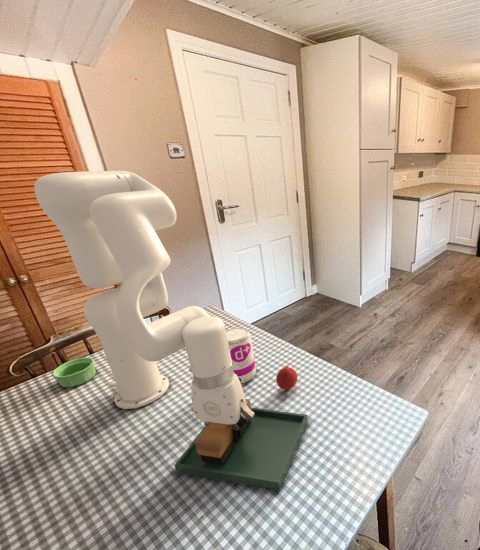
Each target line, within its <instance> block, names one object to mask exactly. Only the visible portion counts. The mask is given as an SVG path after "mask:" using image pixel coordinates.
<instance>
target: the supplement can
mask: <svg viewBox="0 0 480 550" xmlns="http://www.w3.org/2000/svg"><path fill="white" fill-rule="evenodd" d="M226 334H227V339H228V345H229V350H230V355H231V360H232V365H233V370H234V374H236V375H237V377H238V379H239V381H240V383H241V384H244V383H247V382H249V381H250V380H252V379H253V378H254V376H256V373H257V369H256V363H255V355H254V348H253V343H252V336H251V333H250V332H249V331H248V330H247V328H245V327H233V328H230V329H228V330H226Z"/></svg>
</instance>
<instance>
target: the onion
mask: <svg viewBox="0 0 480 550" xmlns="http://www.w3.org/2000/svg"><path fill="white" fill-rule="evenodd" d="M275 380H276V384H277V386H278V388H279V389H281V390H285V391H287V390H288V391H289V390H290V389H293V387H295V385H296V384H297V382H298V373H297V371H296V370H295V369H294V368H292V367H290V366H289V365H287V364H285V365H284V366H283V368H281V369H280V370H279V371H278V372H277V374H276V378H275Z"/></svg>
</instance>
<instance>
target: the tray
mask: <svg viewBox="0 0 480 550" xmlns="http://www.w3.org/2000/svg"><path fill="white" fill-rule="evenodd" d="M251 410H252V411H253V412H254V413H255V415H254V417H253V419H252V420H250V422H249V423H248V425H247V427H246V428H245V435H244V436H243V438H241V440H240V441H239V443H238V444H237V443H236V444H235V446H234V447H233V449H232V450H231V452H230V453H229V455H228V457H227V458H226V460H225V461H224V463H223V464H222V465H221V464H214V463H208V462H202V459H201V456H200V455H198V453H197V449H196V446H195V442H196V440H197V439H198V438H199V436H200V435H201V434H202V433H203V431H204V430H205V429H206V427H207V426H205V425H204V427H203V428H202V430H200V432H199V433H198V434H197V436H195V438H194V440H193V441H192V442H191V443H190V445H189V446H188V447H187V448H186V450H185V451H184V452H183V454H182V455H181V456H180V457H179V459H178V460H177V462H176V463H175V464H174V469H175V472H176V474H180V475H185V476H191V477H197V478H203V479H208V480H209V479H210V480H215V481H221V482H225V483H226V482H227V483H232V484H233V483H234V484H238V485H244V486H250V487H257V488H263V489H267V490H268V489H269V490H272V491H273V490H274V491H281V489H282V486H283V484H284V481H285V479H286V477H287V474H288V472H289V469H290V467H291V464H292V462H293V460H294V457H295V455H296V452H297V449H298V447H299V444H300V442H301V440H302V437H303V435H304V432H305V430H306V428H307V426H308V425H307V424H308V423H309V420H308V414H305V413H304V414H303V413H302V414H301V413H296V412H288V411H280V410H273V409H265V408H258V407H251Z"/></svg>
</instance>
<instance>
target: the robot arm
mask: <svg viewBox="0 0 480 550" xmlns="http://www.w3.org/2000/svg"><path fill="white" fill-rule="evenodd" d="M33 188H34V194H35V198H36V201H37V203H38V204H39V206H40V208H41V209H42V211H43V212H44V213H45V215H46V216H47V217H48V218H49V219H50V220H51V222H52V223H53V224H54V225H55V227H57V229H58V230H59V232H60V233H61V235H62V237H63V239H64V241H65V244H66V247H67V249H68V250H67V251H68V252H69V255H70V257H71V260H72V262H73V264H74V267H75V270H76V273H77V275H78V276H79V279H80V280H81V282H82V283H83V284H84V286H86V287H87V288H90V289H95V290H96V289H104V288H108V287H112V286H115V285H119V284H121V286H118V287H115V288H112V289H109V290H106V291H101V292H100V293H98V294H95V295H93V296H91V297H90V298H89V299H88V300H86V302H85V303H84V304H83V309H82V311H83V314H84V316H85V319H86V320H87V321H88V323H89V324H90V326H91V328H92V329H93V331H94V333H95V334H96V336H97V339H98V340H99V343H100V345H101V347H102V349H103V353H104V355H105V358H106V360H107V363H108V366H109V368H110V371H111V374H112V376H113V377H112V381H111V382H110V383H109V387H110V388H116V394H115V396H114V399H113V400H114V403H115V406H116V407H118V408H120V409H123V410H132V409H138V408H141V407H144V406H147V405H149V404H151V403H153V402H155V401H157V400H158V399H159V398H161V397H162V396H163V395H164V394H165V393H166V392H167V390H168V389H169V386H170V381H169V378H168V377H166V375H163V374H160V370H159V367H158V364H157V362H160V361H162V360H164V359H166V358H168V357H169V356H171V355H173V354H175V353H177V352H179V351H180V350H182V349H185V351H186V354H187V357H188V362H189V365H190V367H189V369H188V370H189V373H191V374H192V378H193V380H192V381H191V387H190V388H191V389H190V391H191V394H190V395H191V403H192V407H191V409H190V411H191V412H192V413H193V414H194V416H195V418H196V419H197V420H198V421H201V422H203V425H204V427H205V426H208V425H209V424H210V422H213V423H221V424H232V426H233V427H234V429H233V436H234V441H235V443H237V444H238V443H239V441H240V440H241V438H243V436H244V435H245V429H244V425H245V424H246V423H247V422H249V421H250V420H252V419H253V417H254V415H255V413H254V412H253V411H252V410H251V409H250V408H249V407H247V406H246V400H245V399H246V396H245V391H244V389H243V387H242V383H240V381H239V379H238V377H237V375H236V374H234V370H233V365H232V360H231V355H230V350H229V345H228V339H227V334H226V331H227V330H226V324H225V322H224V321H223V320H222V319H221V318H220V317H217V316H213V315H210V314H209V312H207V311H206V310H205V309H203V308H202V307H200V306H197V305H190V306H186V307H184V308H181V309H179V310H177V311H175V312H173V313H169V314H167V315H165V316H162V317H160V318H158V319H155V320H153V321H151V322H149V323H146V321H145V319H144V318H146V317H149V316H151V315H153V314H156V313H158V312H160V311H162V310H164V309H165V308H166V307H167V306H168V304H169V295H168V290H167V287H166V286H167V285H166V283H165V280H164V276H163V275H164V274H163V273H162V272H164V271H165V270H166V269H167V268H168V267H169V266H170V265H171V257H170V256H169V254H168V252H167V250H166V248H165V247H164V245H163V243H162V241H161V239H160V237H159V236H158V234H157V232H156V231H157V230H163V229H168V228H171V227H172V226H174V225H175V224H176V222H177V218H178V216H177V210H176V208H175V206H174V204H173V202H172V201H171V199H170V198H169V196H168V195H167V194H166V193H165V192H164V191H162V190H161V189H160V188H159V187H157V186H155V185H154V184H152V183H151V182H149V181H148V180H146V179H144V178H143V177H141V176H140V175H138V174H136V173H135V172H132V171H127V170H97V171H94V170H92V171H91V170H90V171H89V170H87V171H86V170H85V171H64V172H56V173H50V174H49V173H48V174H46V175H45V174H44V175H43V176H40V177H39V178H37V180H36V181H35V182H34V187H33Z"/></svg>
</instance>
